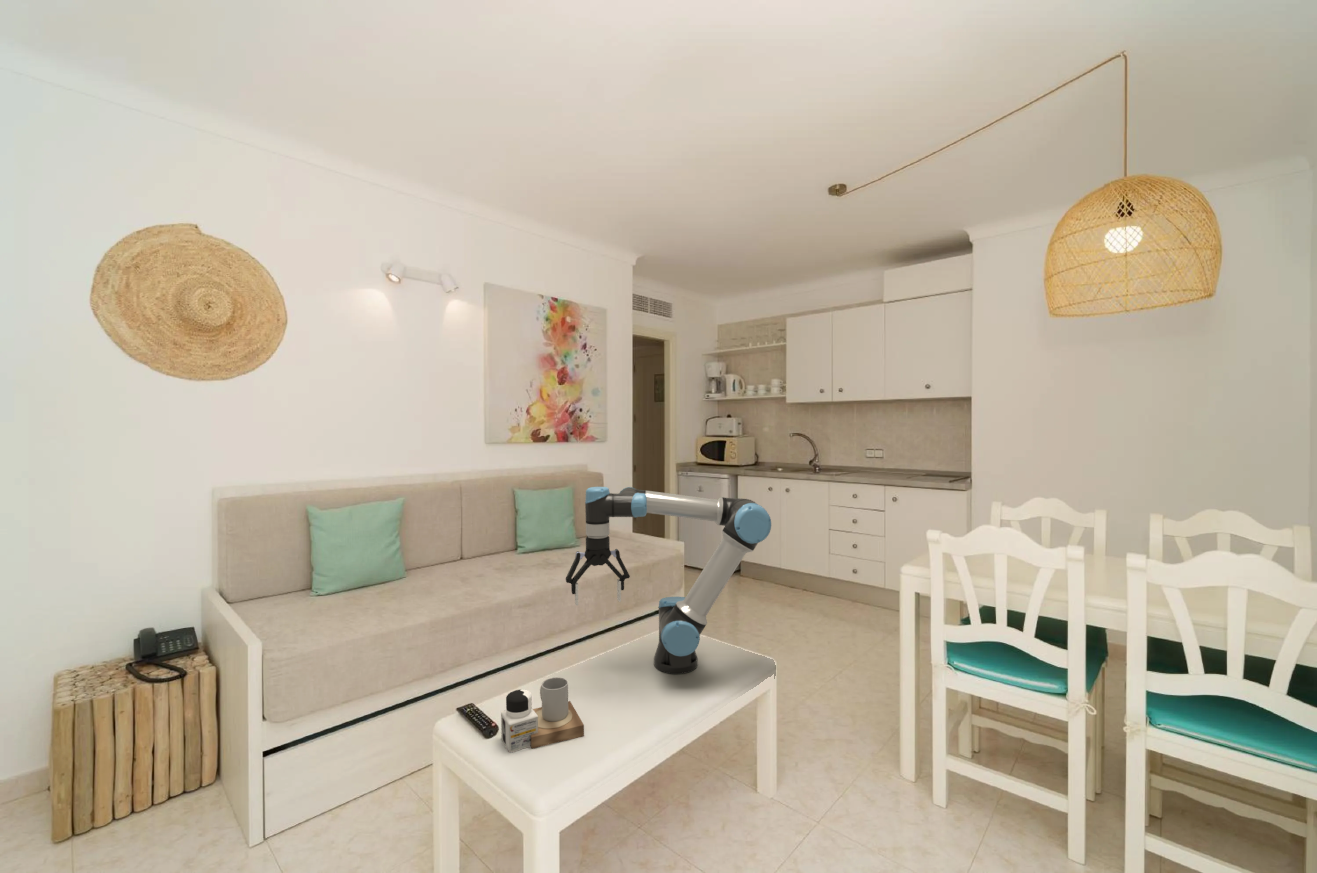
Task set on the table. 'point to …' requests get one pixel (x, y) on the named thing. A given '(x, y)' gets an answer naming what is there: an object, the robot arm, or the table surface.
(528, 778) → the table surface
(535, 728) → the container
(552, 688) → the cup
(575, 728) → the pedestal
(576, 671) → the table surface
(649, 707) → the table surface
